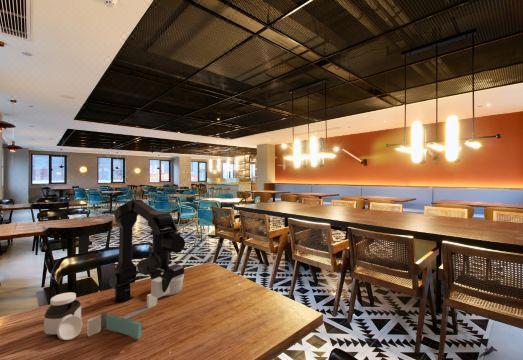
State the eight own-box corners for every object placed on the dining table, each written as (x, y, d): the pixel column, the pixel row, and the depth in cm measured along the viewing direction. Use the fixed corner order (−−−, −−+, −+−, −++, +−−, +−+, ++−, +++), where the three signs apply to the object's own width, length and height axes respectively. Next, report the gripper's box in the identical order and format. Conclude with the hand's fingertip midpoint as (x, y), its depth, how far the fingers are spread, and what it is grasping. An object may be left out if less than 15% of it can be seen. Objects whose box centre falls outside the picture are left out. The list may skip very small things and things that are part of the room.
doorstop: (150, 295, 94) (151, 280, 94) (162, 290, 98) (162, 275, 98) (158, 297, 92) (158, 282, 92) (169, 292, 96) (169, 277, 96)
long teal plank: (106, 328, 88) (106, 315, 88) (109, 326, 89) (109, 314, 89) (138, 338, 83) (138, 324, 83) (141, 336, 84) (141, 323, 84)
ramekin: (172, 283, 129) (172, 269, 129) (189, 289, 121) (189, 274, 121) (147, 292, 118) (147, 277, 118) (164, 300, 111) (164, 284, 111)
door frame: (86, 334, 86) (86, 319, 86) (154, 303, 108) (154, 290, 108) (89, 337, 84) (90, 321, 84) (158, 304, 107) (158, 291, 107)
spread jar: (63, 322, 93) (64, 290, 93) (94, 323, 93) (95, 290, 93) (33, 343, 81) (33, 306, 81) (68, 344, 81) (69, 307, 81)
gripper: (124, 249, 93) (123, 292, 93) (159, 257, 83) (158, 306, 84) (151, 242, 102) (150, 282, 103) (185, 249, 93) (185, 293, 93)
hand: (160, 290), depth 95 cm, fingers closed on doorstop, 4 cm apart
